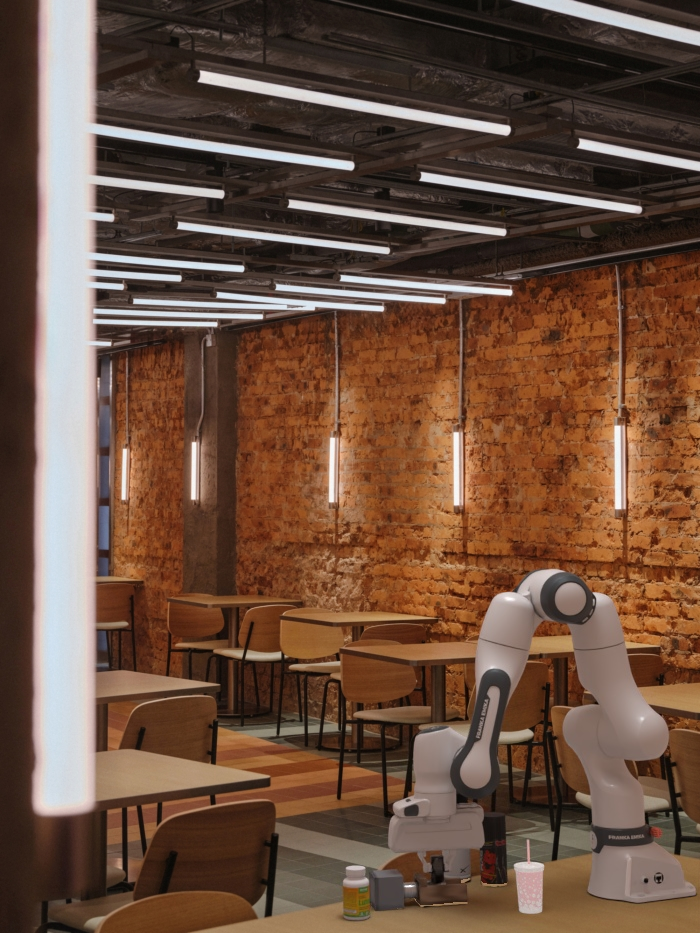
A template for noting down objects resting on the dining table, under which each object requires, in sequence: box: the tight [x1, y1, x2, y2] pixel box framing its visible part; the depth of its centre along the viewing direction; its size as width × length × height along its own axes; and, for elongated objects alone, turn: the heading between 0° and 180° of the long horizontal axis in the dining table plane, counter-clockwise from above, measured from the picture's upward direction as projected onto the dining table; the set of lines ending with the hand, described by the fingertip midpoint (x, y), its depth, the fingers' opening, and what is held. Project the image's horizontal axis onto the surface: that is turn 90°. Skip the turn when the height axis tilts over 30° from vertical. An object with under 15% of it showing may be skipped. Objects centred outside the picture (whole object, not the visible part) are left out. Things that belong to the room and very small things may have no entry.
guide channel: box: [412, 871, 469, 905], centre depth 253 cm, size 10×6×6 cm, turn 99°
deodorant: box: [479, 811, 509, 884], centre depth 268 cm, size 6×6×15 cm
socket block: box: [368, 869, 405, 912], centre depth 251 cm, size 6×6×6 cm
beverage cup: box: [513, 839, 545, 915], centre depth 245 cm, size 6×6×14 cm
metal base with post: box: [403, 854, 446, 900], centre depth 252 cm, size 14×3×8 cm, turn 99°
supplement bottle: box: [342, 865, 371, 921], centre depth 243 cm, size 5×5×10 cm
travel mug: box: [441, 790, 472, 880], centre depth 272 cm, size 6×7×20 cm
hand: (437, 872), depth 253 cm, fingers closed on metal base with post, 3 cm apart
